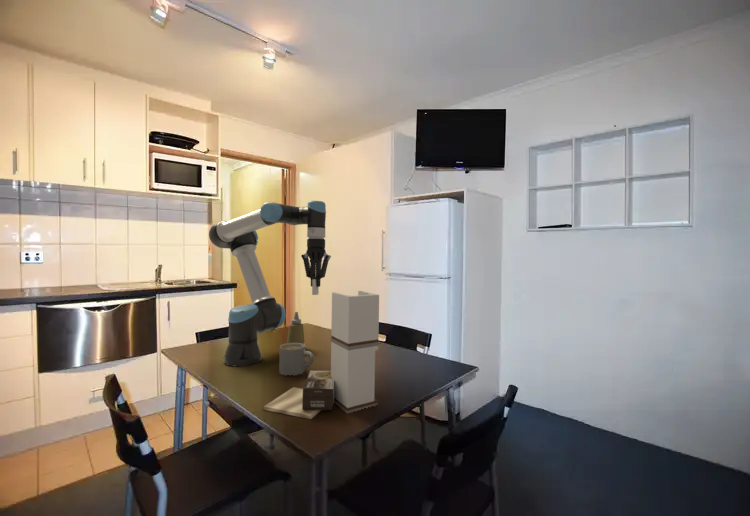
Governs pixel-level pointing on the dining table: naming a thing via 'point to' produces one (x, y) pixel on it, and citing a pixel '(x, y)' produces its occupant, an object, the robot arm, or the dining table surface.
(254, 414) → the dining table surface
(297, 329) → the squeeze bottle
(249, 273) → the robot arm
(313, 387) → the coffee box
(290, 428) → the dining table surface
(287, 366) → the coffee mug
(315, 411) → the birch board
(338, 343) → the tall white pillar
